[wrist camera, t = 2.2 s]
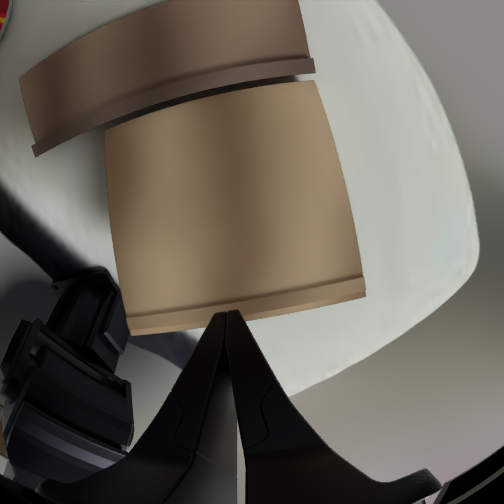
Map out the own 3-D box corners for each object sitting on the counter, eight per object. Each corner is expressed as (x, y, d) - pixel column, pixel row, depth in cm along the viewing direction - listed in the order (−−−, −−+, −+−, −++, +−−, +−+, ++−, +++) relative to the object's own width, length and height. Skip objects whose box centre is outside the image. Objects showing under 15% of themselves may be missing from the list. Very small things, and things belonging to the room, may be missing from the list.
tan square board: (143, 328, 14) (130, 336, 12) (117, 139, 14) (103, 129, 12) (355, 291, 13) (366, 297, 11) (310, 94, 13) (314, 79, 12)
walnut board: (52, 148, 14) (35, 157, 12) (32, 76, 10) (14, 79, 9) (305, 73, 13) (315, 73, 11) (287, -12, 10) (295, -23, 8)
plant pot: (3, 413, 50) (-7, 450, 36) (-20, 390, 41) (-34, 433, 28) (38, 430, 53) (30, 471, 39) (16, 410, 44) (4, 458, 31)
